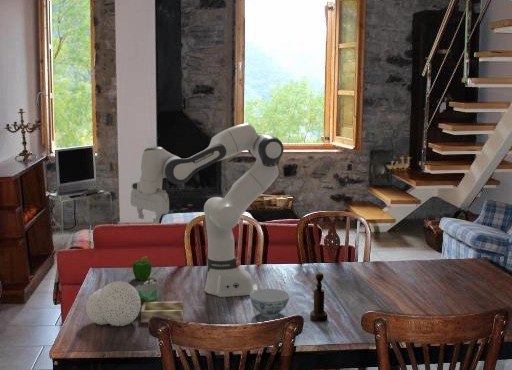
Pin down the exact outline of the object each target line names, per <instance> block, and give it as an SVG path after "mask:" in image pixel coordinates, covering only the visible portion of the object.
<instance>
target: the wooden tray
mask: <svg viewBox="0 0 512 370" xmlns="http://www.w3.org/2000/svg"><path fill="white" fill-rule="evenodd" d="M183 315H184V301H156V302H144V303H143V306H142V309H140V323H149V322H148V320H149V319H150V317H152V316H161V317H166V318H172V319H181V320H182V321H183Z"/></svg>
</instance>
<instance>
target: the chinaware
mask: <svg viewBox="0 0 512 370" xmlns="http://www.w3.org/2000/svg"><path fill="white" fill-rule="evenodd" d="M249 298H250V302H251V305H252V306H253V308H255V311H258V313H260V315H261V316H262V317H264V318H275V317H276V318H277V317H278V316H279V314H280V312H283V310H284V309H285V308H286V307H287V305H288V302H289V299H290V293H289V292H287V291H285V290H282V289H276V288H261V289H258V290H256V291H253V292H252V293H251V294H250V295H249Z"/></svg>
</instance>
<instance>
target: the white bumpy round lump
mask: <svg viewBox="0 0 512 370" xmlns="http://www.w3.org/2000/svg"><path fill="white" fill-rule="evenodd" d="M85 306H86V307H85V311H86V314H87V316H88V318H89V320H91V321H92V322H93V323H95V324H97V325H100V326H103V325H108V324H109V325H110V326H112V327H113V326H116V327H123V326H126V325H130V324H131V323H132V322H134V321H135V320H136V318H137V317H138V316H139V314H140V312H141V309H140V307H141V302H140V296H139V294H138V291H137V290H136V288H135V287H134V286H133V285H132V284H130V283H129V282H126V281H121V280H117V281H113V282H110V283H108V284H107V283H106V285H105V286H103V287H102V288H99V289H97V290H95V291H94V292H93V293H92V294H90V295H89V297H88V299H87V300H86V305H85Z"/></svg>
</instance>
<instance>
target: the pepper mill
mask: <svg viewBox="0 0 512 370" xmlns="http://www.w3.org/2000/svg"><path fill="white" fill-rule="evenodd" d="M314 277H315V280H316V282H317V283H315V286H316V289H313V309H312V310H311V311H310V313H309V319H310V321H312V322H314V323H315V322H316V323H321V322H326V321H327V320H328V312H327V311H325V289H322V288H323V284H322V281H323V279H324V274H323V272H316V273H315V276H314Z"/></svg>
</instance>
